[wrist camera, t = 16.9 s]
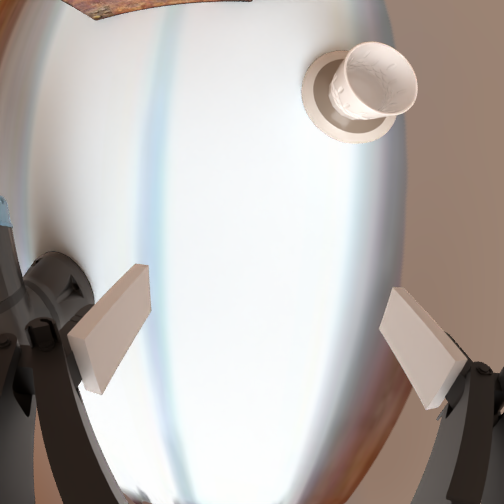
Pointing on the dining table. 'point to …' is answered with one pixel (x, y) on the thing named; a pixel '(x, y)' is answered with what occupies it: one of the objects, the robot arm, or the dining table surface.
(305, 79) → the beige saucer
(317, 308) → the dining table surface
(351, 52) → the white cup
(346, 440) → the dining table surface
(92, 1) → the book
